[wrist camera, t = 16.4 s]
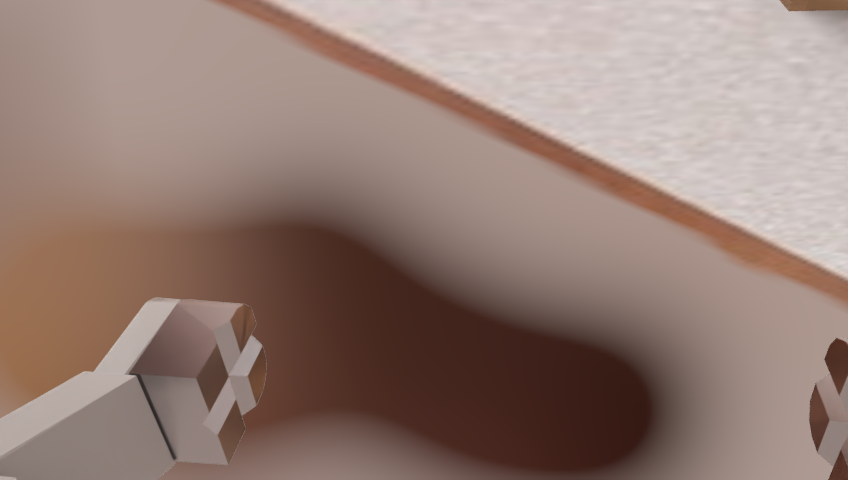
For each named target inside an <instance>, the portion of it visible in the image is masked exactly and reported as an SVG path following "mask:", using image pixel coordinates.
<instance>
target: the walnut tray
mask: <svg viewBox="0 0 848 480" xmlns="http://www.w3.org/2000/svg"><path fill="white" fill-rule="evenodd" d="M780 1H781V2H782V3H783V5H784V6H785V7H786V8H787V10H788V11H816V10H848V0H780Z"/></svg>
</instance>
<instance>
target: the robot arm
mask: <svg viewBox="0 0 848 480" xmlns="http://www.w3.org/2000/svg"><path fill="white" fill-rule="evenodd" d="M255 326H256V321H255V318H254V315H253V312H252V309H251V307H249V306H247V305H245V304H238V303H225V302H214V301H201V300H189V299H185V300H179V299H169V298H154V299H151V300H149V301H147V302H146V303H145V304H144V306H143V307H142V308H141V310H140V311H139V312H138V314H137V315H136V317H135V318H134V319H133V320H132V322H131V323H130V324H129V326H128V327H127V328H126V330H125V331H124V332H123V334H122V335H121V336H120V338H119V339H118V340H117V342H116V343H115V344H114V346H113V347H112V348H111V350H110V351H109V352H108V353H107V355H106V356H105V357H104V359H103V360H102V361H101V363H100V364H99V365H98V367H97V368H96V369H95V371H94V372H82V373H81V374H79V375H77V376H75V377H73V378H72V379H70V380H68V381H66V382H65V383H63V384H61V385H59V386H58V387H56V388H54V389H52V390H51V391H49V392H47V393H45V394H43V395H42V396H40V397H38V398H36V399H35V400H33V401H31V402H29V403H27V404H26V405H24V406H22V407H21V408H19V409H17V410H15V411H13V412H12V413H10V414H8V415H6V416H5V417H3V418H1V419H0V480H157V479H159V478H160V477H161V476H162V475H163V474H164V473H166V472H167V471H168V470H169V469H170V468H171V467H173V466H174V465H175V462H174V461H179V462H194V463H207V464H221V465H229V463H230V461H231V459H232V457H233V455H234V452H235V450H236V448H237V446H238V444H239V442H240V440H241V437H242V435H243V433H244V431H245V429H246V428H245V425H244V422H243V419H242V415H244V414H245V413H247V412H248V411H249V410H251V409H252V408H254V407H255V406H256V405H257V403H258V401H259V399H260V396H261V394H262V392H263V388H264V383H265V377H266V372H267V370H266V356H265V352H264V349H263V345H262V344H261V343H259V342H258V341H257V340H256V339H255V338H254V337H253V336H252V335H251V333H252V332H253V330H254V328H255ZM824 360H825V362H826V365H827V367H828V370H829V372H830V374H829V375H827V376H826V377H824V378H823V379H821V380H820V381H818V382H816V383H815V386H814V390H813V393H812V396H811V399H810V413H809V422H810V428H811V434H812V438H813V441H814V444H815V447H816V450H817V453H818V454H819V455H821V456H822V457H823V458H824V459H825V460H826V461H828V462H829V463H830V464H831V465H832V466H833V469H832V472H831V474H830V477H829V479H828V480H848V338H836V339H835V340H834V341H833V342H832V343H831V344H830V346H829V348H828V351H827V354H826V356H825V359H824Z"/></svg>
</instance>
